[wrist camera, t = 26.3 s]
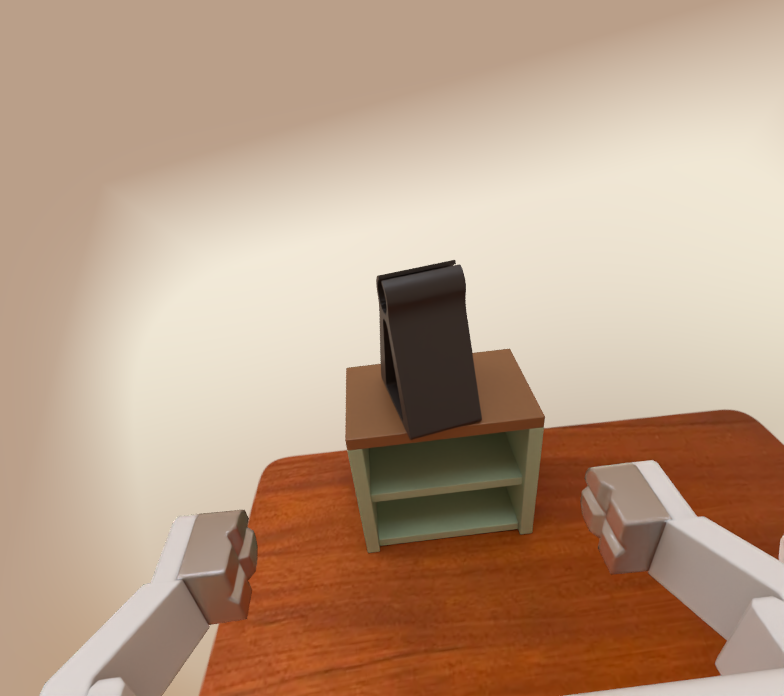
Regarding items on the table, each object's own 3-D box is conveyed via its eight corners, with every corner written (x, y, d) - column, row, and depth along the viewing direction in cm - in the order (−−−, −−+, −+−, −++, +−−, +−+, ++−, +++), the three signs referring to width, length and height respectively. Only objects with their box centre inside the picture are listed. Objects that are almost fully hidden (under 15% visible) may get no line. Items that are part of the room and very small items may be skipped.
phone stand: (482, 423, 38) (484, 286, 31) (410, 442, 37) (396, 305, 30) (442, 362, 45) (436, 242, 39) (381, 377, 44) (365, 256, 38)
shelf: (367, 553, 46) (345, 440, 38) (365, 473, 54) (346, 367, 46) (532, 533, 46) (545, 416, 38) (504, 457, 54) (510, 348, 46)
